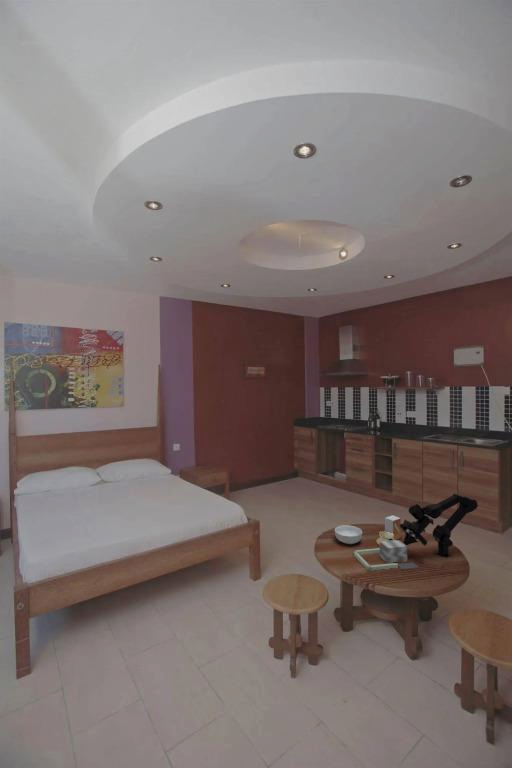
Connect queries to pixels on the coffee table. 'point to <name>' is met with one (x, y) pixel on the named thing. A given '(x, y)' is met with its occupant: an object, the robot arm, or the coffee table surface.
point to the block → (393, 551)
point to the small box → (393, 526)
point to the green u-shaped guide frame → (383, 566)
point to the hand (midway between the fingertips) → (403, 545)
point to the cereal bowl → (348, 534)
